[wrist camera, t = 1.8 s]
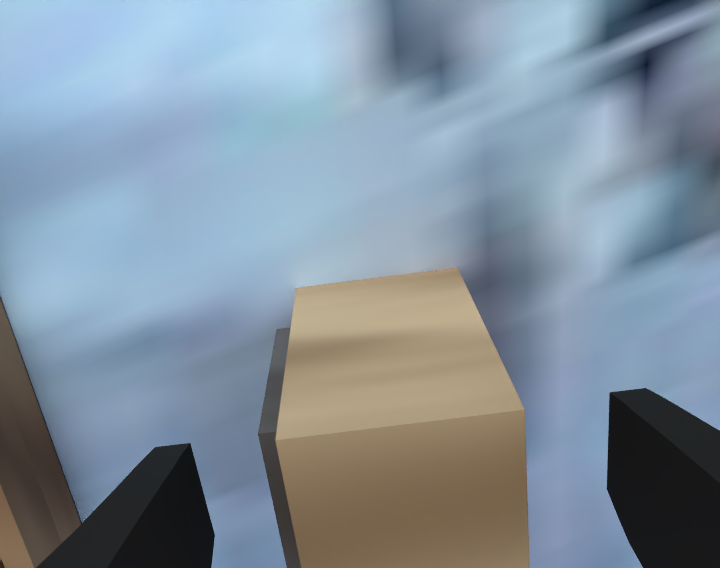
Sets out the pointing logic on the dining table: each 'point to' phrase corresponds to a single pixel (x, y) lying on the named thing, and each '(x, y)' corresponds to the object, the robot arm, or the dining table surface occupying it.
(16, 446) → the brown wooden tray
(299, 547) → the tan rectangular block
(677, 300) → the dining table surface
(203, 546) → the robot arm
